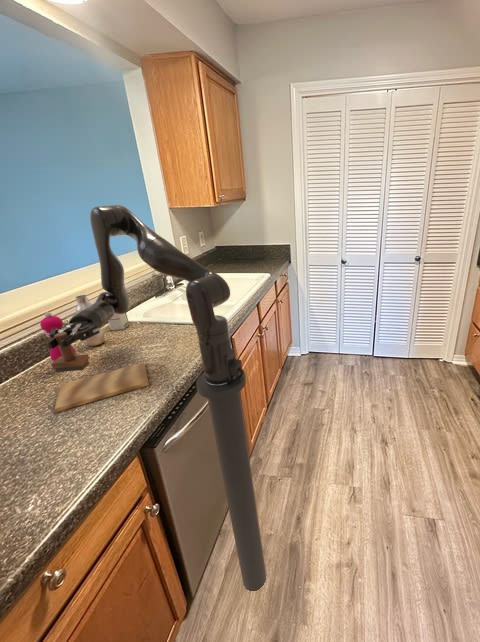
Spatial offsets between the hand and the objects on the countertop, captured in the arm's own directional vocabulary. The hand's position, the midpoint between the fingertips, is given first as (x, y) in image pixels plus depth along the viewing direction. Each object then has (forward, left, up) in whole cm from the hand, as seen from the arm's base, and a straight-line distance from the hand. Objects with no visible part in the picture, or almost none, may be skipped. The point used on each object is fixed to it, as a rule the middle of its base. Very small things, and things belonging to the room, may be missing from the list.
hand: (56, 345), depth 88 cm
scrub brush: (+1, -3, -9) cm, 9 cm away
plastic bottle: (+22, -33, -18) cm, 43 cm away
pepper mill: (+20, -17, -18) cm, 32 cm away
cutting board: (-4, -7, -18) cm, 19 cm away
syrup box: (+24, -49, -18) cm, 57 cm away
